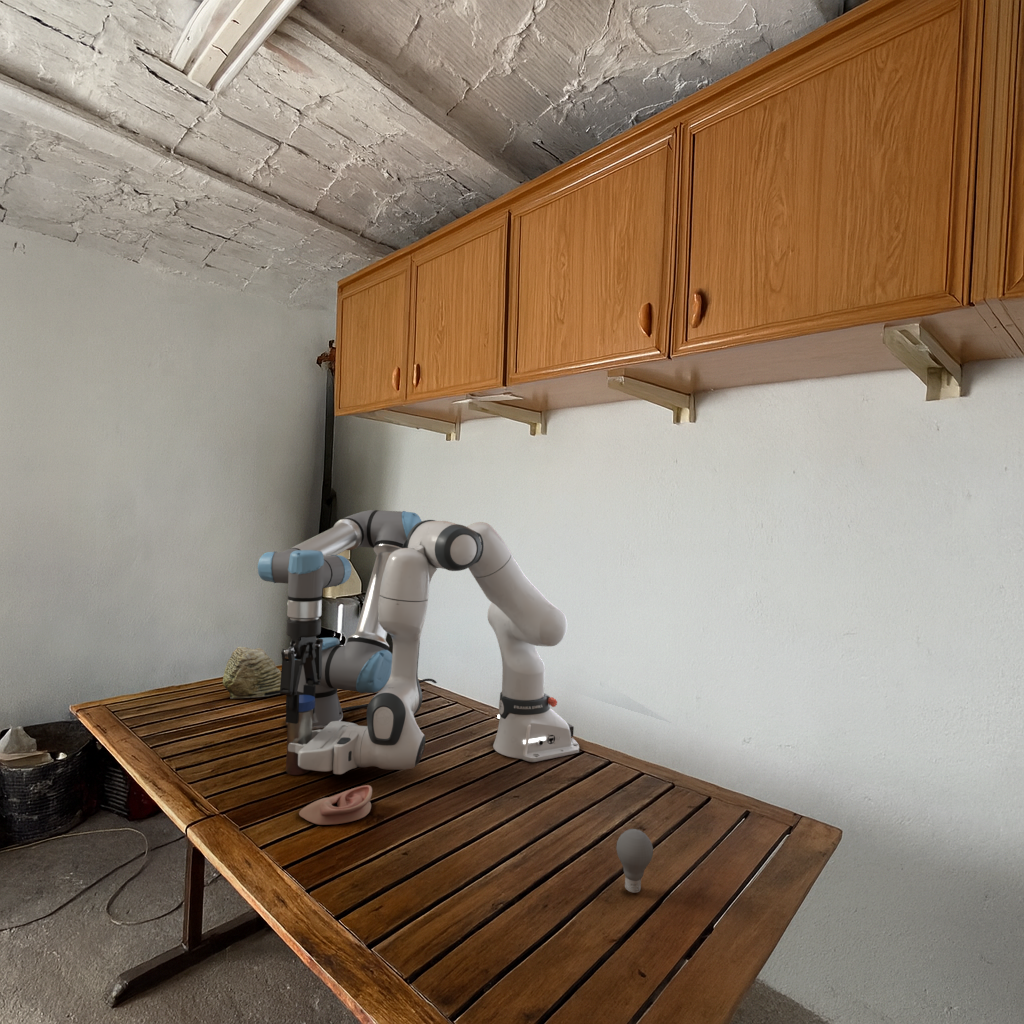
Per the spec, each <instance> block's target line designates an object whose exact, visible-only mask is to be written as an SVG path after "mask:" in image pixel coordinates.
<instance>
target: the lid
mask: <svg viewBox="0 0 1024 1024" xmlns="http://www.w3.org/2000/svg"><path fill="white" fill-rule="evenodd" d="M314 707H315V697H314V696H311V695H299V712H305V711H309V710H312V709H314Z"/></svg>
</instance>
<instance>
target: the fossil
mask: <svg viewBox="0 0 1024 1024" xmlns="http://www.w3.org/2000/svg"><path fill="white" fill-rule="evenodd" d="M222 676H223V677H222V685H223V687H224V688H225V690H226V691H228V693H229V698H230V699H250V698H264V697H271V696H275V695H281V693H280V683H281V669H279V668H278V667H277V665H276V663H275V662H274V660H273V659H272V658H271V657H270V656H269V655H268V654H267V653H266V652H265V650H264V649H263V648H260V647H258V648H251V647H247V646H246V647H245V646H238V647H237V648H236V649H235V650H233V651H232V653H231V656H230V657H229V659H228V660H227V663H226V666H225V668H224V671H223V675H222Z"/></svg>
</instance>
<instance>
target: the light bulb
mask: <svg viewBox="0 0 1024 1024" xmlns="http://www.w3.org/2000/svg"><path fill="white" fill-rule="evenodd" d="M615 849H616V854H617V857H618V859H619V861H620V863H621V865H622V867H623V873H624V874H623V875H624V876H625V878H624V888H625V890H627V891H628V892H630V893H634V894H635V893H639V892H640V891H641V889H642V887H641V886H642V879H643V877H644V875H645V871H646V868H647V867H648V866H649V864H650V863H651V861H652V859H653V855H654V847H653V843H652V841H651V838H649V836H648V835H647V834H646V833H645V832H643V831H642V830H641V829H636V828H629V829H627V830H625V831H623V832H622V833H621V834H620V835H619V837H618V839H617V841H616V847H615Z"/></svg>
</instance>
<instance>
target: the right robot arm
mask: <svg viewBox="0 0 1024 1024" xmlns="http://www.w3.org/2000/svg"><path fill="white" fill-rule="evenodd" d="M404 547H405V548H404ZM438 569H442V570H446V571H450V572H459V571H464V570H467V569H468V570H469V571H470V573H471V575H472V577H473V578H474V580H475V581H476V583H477V584H478V586H479V588H480V590H481V591H482V592H483V594H484V596H485V597H486V598H487V600H488V601H490V602H491V603H490V604H489V606H488V610H487V621H488V624H489V626H490V627H491V628H492V630H493V632H494V634H495V637H496V639H497V643H498V647H499V652H500V658H501V666H502V673H501V691H500V693H499V701H498V713H499V714H497V719H498V727H497V731H496V735H495V739H494V742H493V744H492V747H493V748H492V749H493V750H494V751H495V752H496V753H498V754H499V755H502V756H506V757H508V758H512V759H520V760H523V761H526V762H529V763H536V762H541V761H547V760H551V759H555V758H561V757H565V756H566V757H567V756H570V755H574V754H578V753H580V745H579V743H578V741H577V740H576V739H575V738H574V728H575V727H574V726H573V725H572V724H570V723H569V722H567V721H566V720H565V719H564V718H563V717H562V716H561V715H559V714H558V713H557V712H556V711H555V710H553V709H552V708H555V707H556V706H558V701H557V699H556V698H554V696H553V697H552V696H550V695H548V694H547V693H545V685H546V665H545V662H544V660H543V659H542V658H541V655H540V654H539V652H538V650H537V647H556V646H558V645H559V644H560V643H561V642H562V641H563V640H564V639H565V637H566V634H567V631H568V619H567V616H566V614H565V613H564V611H563V610H561V609H560V608H559V607H557V606H556V605H555V604H553V603H552V602H551V601H549V599H547V598H546V596H545V595H544V594H543V593H542V592H541V591H540V589H538V587H536V586H535V584H534V583H532V582H531V581H530V579H529V578H528V577H527V576H526V573H524V571H523V570H522V568H521V566H520V565H519V564H518V562H517V560H516V559H515V557H514V555H513V553H512V552H511V550H510V548H509V547H508V545H507V543H506V542H505V541H504V539H503V538H502V537H501V536H500V534H499V533H498V532H497V531H496V530H495V529H494V527H493V526H492V525H490V524H489V523H487V522H484V521H476V522H474V523H473V522H472V523H471V524H469V525H467V526H466V525H463V524H459V523H455V522H452V521H448V520H435V519H426V520H421V522H419V523H417V524H416V525H415V526H414V527H413V528H412V529H411V530H410V532H409V534H408V536H407V539H406V541H405V542H404V544H403V548H401V549H398V550H395V551H394V552H392V553H391V554H390V555H389V557H388V560H387V563H386V566H385V569H384V573H383V577H382V582H381V587H380V595H379V603H378V615H379V623H380V625H381V627H382V628H383V629H384V630H385V631H386V632H387V635H389V636H390V637H391V639H392V641H391V642H392V652H391V654H392V667H391V675H390V677H389V680H388V682H387V683H386V685H385V686H384V687H383V688H382V689H381V690H380V691H378V692H376V693H375V695H374V696H373V697H372V698H371V699H370V700H369V703H367V704H368V707H366V725H358V724H357V723H354V722H349V721H344V720H343V721H332V722H330V723H329V724H328V725H327V726H326V727H325V728H324V729H322V730H320V729H319V730H313V731H312V740H311V741H309V742H308V743H307V744H303V745H301V744H298V742H291V743H290V744H289V745H288V751H289V752H295V753H297V754H298V766H299V767H300V768H302V769H306V770H310V771H315V772H331V771H332V773H333V774H334V775H343V774H345V773H346V772H348V771H350V770H353V769H356V768H369V767H374V768H378V769H380V770H389V771H391V770H393V771H394V770H395V771H398V770H399V771H400V770H401V771H403V770H404V771H405V770H411V769H415V768H416V766H418V764H419V763H420V761H421V759H422V757H423V754H424V752H425V747H426V742H427V741H426V735H425V734H424V733H423V731H422V729H420V727H419V725H418V723H417V720H416V717H415V715H416V714H417V713H418V712H419V710H420V709H421V707H422V704H423V691H422V688H421V683H419V681H420V680H419V676H418V675H419V673H418V672H419V671H418V669H419V659H420V658H419V657H420V645H421V636H422V631H423V628H424V624H425V619H426V616H427V610H428V605H429V597H430V584H431V581H432V579H433V576H434V574H435V573H436V572H437V571H438ZM571 737H572V738H571Z"/></svg>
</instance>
